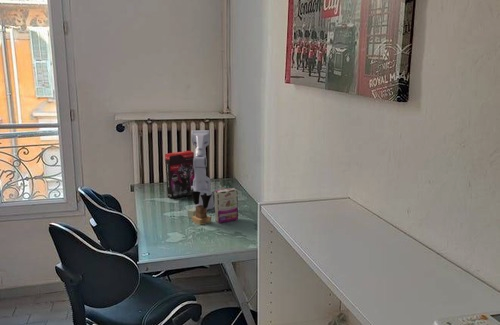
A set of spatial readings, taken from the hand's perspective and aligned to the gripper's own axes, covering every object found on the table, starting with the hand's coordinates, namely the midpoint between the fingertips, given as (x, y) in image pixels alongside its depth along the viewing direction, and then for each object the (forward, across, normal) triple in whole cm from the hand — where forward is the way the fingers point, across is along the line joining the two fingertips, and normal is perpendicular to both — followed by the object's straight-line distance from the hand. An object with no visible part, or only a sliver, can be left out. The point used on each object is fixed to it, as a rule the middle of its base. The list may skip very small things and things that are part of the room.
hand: (201, 205), depth 221 cm
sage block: (+8, -9, +1) cm, 12 cm away
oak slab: (+9, 0, 0) cm, 9 cm away
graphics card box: (+9, -46, +18) cm, 50 cm away
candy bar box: (+9, +7, +10) cm, 15 cm away
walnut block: (+6, 0, 0) cm, 6 cm away
